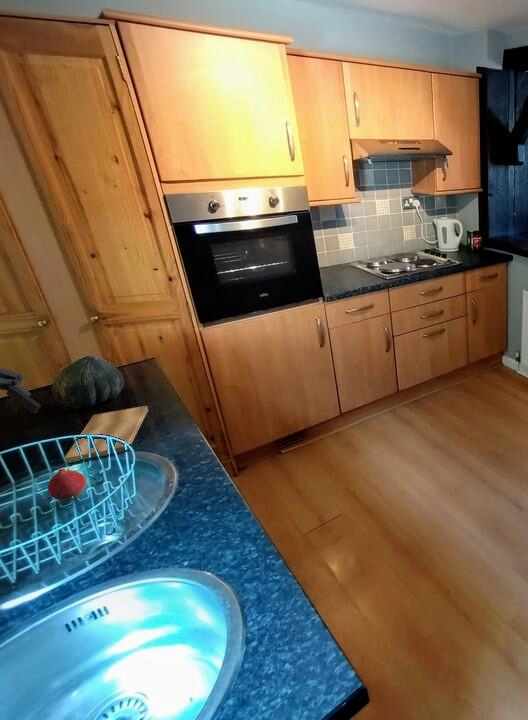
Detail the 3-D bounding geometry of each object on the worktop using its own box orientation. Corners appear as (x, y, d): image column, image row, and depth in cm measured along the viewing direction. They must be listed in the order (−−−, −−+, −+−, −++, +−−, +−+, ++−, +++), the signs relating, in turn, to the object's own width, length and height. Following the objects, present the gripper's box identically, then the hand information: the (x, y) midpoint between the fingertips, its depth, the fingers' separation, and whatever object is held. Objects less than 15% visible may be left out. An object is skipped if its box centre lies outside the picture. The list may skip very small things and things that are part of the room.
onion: (65, 511, 94) (50, 481, 91) (49, 504, 96) (33, 474, 93) (97, 493, 99) (84, 464, 96) (81, 486, 101) (67, 457, 98)
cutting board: (66, 463, 108) (63, 458, 107) (95, 419, 124) (93, 414, 123) (128, 450, 112) (126, 445, 112) (148, 409, 129) (146, 405, 128)
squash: (37, 389, 127) (44, 360, 120) (98, 368, 140) (108, 340, 133) (71, 426, 127) (80, 399, 120) (129, 402, 141) (140, 375, 133)
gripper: (-27, 341, 100) (58, 404, 105) (-203, 401, 78) (-85, 478, 82) (-18, 321, 98) (69, 386, 102) (-198, 377, 75) (-76, 458, 79)
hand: (1, 428), depth 92 cm, fingers open, 13 cm apart
